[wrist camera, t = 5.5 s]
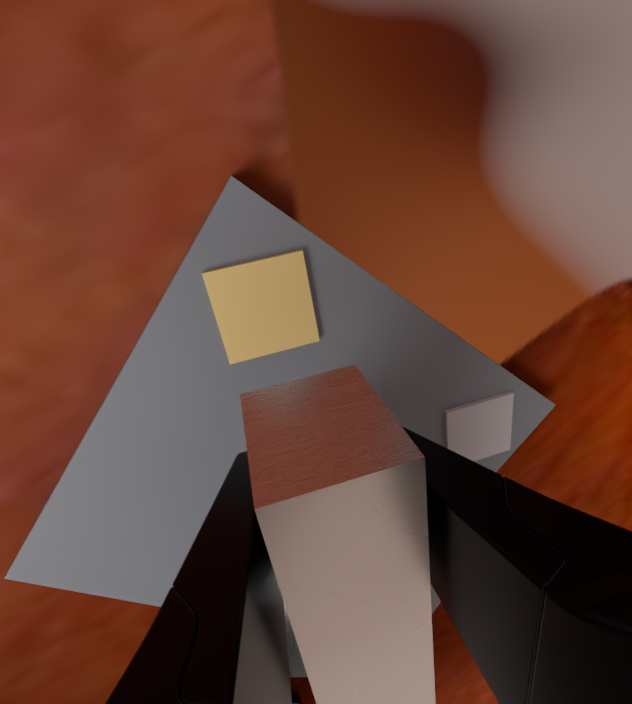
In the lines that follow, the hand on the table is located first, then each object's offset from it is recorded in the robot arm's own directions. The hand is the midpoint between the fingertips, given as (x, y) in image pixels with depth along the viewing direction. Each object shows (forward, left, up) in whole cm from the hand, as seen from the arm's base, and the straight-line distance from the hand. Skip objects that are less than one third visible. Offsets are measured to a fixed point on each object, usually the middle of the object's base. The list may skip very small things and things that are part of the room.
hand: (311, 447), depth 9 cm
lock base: (-4, -4, -5) cm, 8 cm away
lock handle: (-4, -3, -1) cm, 6 cm away
